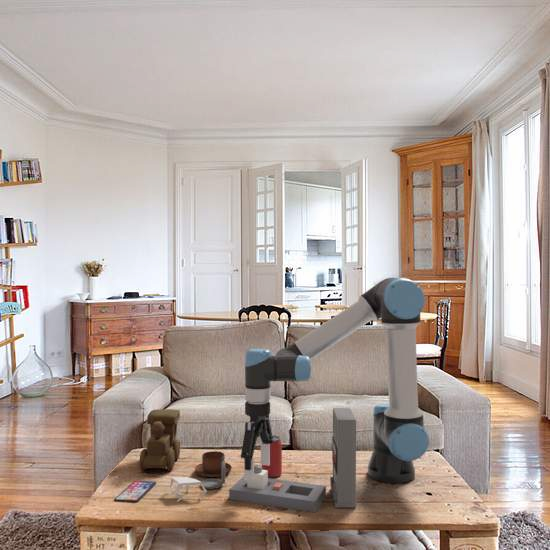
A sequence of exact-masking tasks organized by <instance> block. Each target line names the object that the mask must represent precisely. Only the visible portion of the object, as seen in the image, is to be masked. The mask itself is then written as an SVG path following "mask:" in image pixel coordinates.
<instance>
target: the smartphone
mask: <svg viewBox="0 0 550 550" xmlns="http://www.w3.org/2000/svg"><path fill="white" fill-rule="evenodd" d="M156 485H157V482H156V481H153V480H151V481H149V480H134V481H132V482H131V483H130V484H129V485H128V486H127V487H126V488H124V489H123V490H122V491H121V492H120V493H119V494H118V495H117V496H116V497H115V498H114V499H113V501H114V502H118V503H120V502H121V503H124V502H125V503H131V504H132V503H133V504H135V503H136V504H137V503H139V502H140V501H141V500H142V499H143V498H144V497H145V495H147V494H148V493H149V492H150V491H151V490H152V489H153V487H155V486H156Z"/></svg>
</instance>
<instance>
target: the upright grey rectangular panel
mask: <svg viewBox="0 0 550 550" xmlns="http://www.w3.org/2000/svg"><path fill="white" fill-rule="evenodd" d="M352 411H353V410H352V409H351V408H350V407H333V408H332V436H331V437H332V443H331V444H332V447H331V448H332V449H331V450H332V453H331V454H332V455H331V456H332V458H331V459H332V476H331V474H330V475H329V477H330V478H329V479H330V482H329V483H330V484H329V486H330V492H331V495H332V499H333V503H334V507H335V508H336V509H339V508H352V509H356V508H357V501H356V500H357V497H356V496H357V490H356V489H357V478H356V477H357V473H356V472H357V419H356V417H355V415H354V413H353V412H352Z"/></svg>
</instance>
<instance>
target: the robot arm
mask: <svg viewBox="0 0 550 550" xmlns="http://www.w3.org/2000/svg"><path fill="white" fill-rule="evenodd" d="M425 302H426V297H425V292H424V290H423V289H422V287H421V286H420V285H419V284H418V283H416V281H413V280H411V279H410V278H407V277H388V278H384V279H381V280H380V281H379V282H378V283H376V284H375V285H374V286H372V287H370V288H369V289H368V290H367V291H365V292H363V293H362V294H361V295H360V296H359V297H358V300H357V301H356V302H354V303H353V304H351V305H350V306H348V307H347V308H345V309H344V310H342V311H340V312H339V313H338V314H335V316H332V318H330V319H328V320H327V321H325V322H324V323H322V324H321V325H319V326H317V327H316V328H315V329H313V330H311V331H310V332H308V333H307V334H305V335H304V336H303V337H300V338H299V339H297V340H296V341H294V342H293V343H291V344H290V345H289V346H286V347H283V348H281V349H279V350H278V351H277V352H276V354H275V355H272V354H271V350H270V349H267V348H259V347H257V348H250V349H248V350H246V352H245V360H244V362H245V363H244V378H245V379H244V383H245V385H244V386H245V387H244V390H243V392H244V395H245V396H244V399H245V403H244V414H245V415H246V416H248V417H250V419H249V422H248V421H247V422H245V425H244V435H243V440H242V446H241V453H240V458H241V459H243V465H244V466H243V476H244V480H246V481H254V466H255V458H254V453H255V449H256V445H257V441H258V438H260V441H261V443H260V465H261V466H262V465H267V466H269V465H270V444H269V443H273V440H272V438H273V437H272V436H273V431H272V427H271V426H272V425H271V421H270V414H271V402H270V400H271V382H297V383H298V382H305V381H309V380H310V378H311V374H312V363H311V360H312V359H315V358H316V357H318V356H319V355H320V354H322V353H323V352H325V351H326V350H329V349H330V348H331V347H333V346H334V345H336V344H338V343H339V342H340V341H342V340H343V339H346V337H348V336H350V335H351V334H353V333H355V332H356V331H358V330H359V329H360V328H362V327H363V326H365V325H366V324H368V323H369V322H371V321H374V322H377V321H378V320H380V321H381V322H380V323H381V324H382V325H383V326H384V327H385V329H386V347H387V349H386V351H387V354H386V355H387V382H388V385H387V386H388V403H380V404H376V405H375V406H374V408H373V413H372V416H373V433H372V434H373V446H372V447H373V448H372V449H373V450H372V454H371V456H370V458H369V462H368V464H367V474H368V476H369V477H370V478H372V479H374V480H376V481H380V482H384V483H391V484H402V483H408V482H410V481H413V480H414V479H415V478H416V470H415V466H414V462H413V461H416V460H419V459H420V458H421V457H423V455H425V453H426V452H427V451H428V449H429V445H430V438H429V437H430V436H429V434H428V432H427V430H426V429H425V428H424V427H425V425H424V423H425V422H424V412H423V411H422V409H420V407H419V395H418V394H419V393H418V367H417V366H418V363H417V359H418V358H417V337H416V336H417V333H416V331H417V330H416V329H417V327H418V326H419V325H420V324H421V312H422V311H423V309H424V306H425ZM270 439H271V440H270ZM262 442H263V443H262Z"/></svg>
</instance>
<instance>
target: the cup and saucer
mask: <svg viewBox="0 0 550 550" xmlns="http://www.w3.org/2000/svg"><path fill="white" fill-rule="evenodd" d="M223 454H225V453H224V452H222V451H219V450H217V451H215V450H214V451H206V452H204V453H203V454H202V455H201V456H202V457H201V458H202V459H201V460H202V461H201V463H199V464H198V465H196V466H195V468H194V469H195V472H196V473H197V474H198V475H199V476H202V477H208V478H217V477H221V462H222V456H223ZM225 455H226V454H225ZM225 455H224V461H225V458H226V457H225ZM231 471H232V465H231V464H230V463H227V462H225V475H227V474H229V473H230V472H231Z"/></svg>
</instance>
